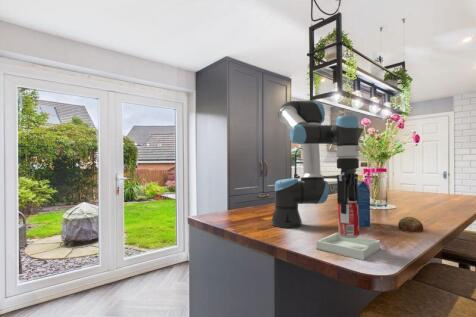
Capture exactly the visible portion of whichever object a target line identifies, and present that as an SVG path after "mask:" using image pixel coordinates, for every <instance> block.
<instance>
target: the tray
mask: <svg viewBox="0 0 476 317" xmlns="http://www.w3.org/2000/svg"><path fill="white" fill-rule="evenodd" d="M315 246H316V248H315V249H316V250H317V251H322V252H326V253H330V254H334V255H338V256H339V255H340V256H343V257H348V258H351V259H352V258H353V259H356V260H361V261H365V260H366V259H368V258H369V257H370V256H372V255H374V254H375V253H376V252H378V251H379V250H381V240H380V239H379V240H378V239H373V238H368V237H363V236H362V237H361V236H358V237H357V238H345V237H342V236H340V234H339V232H334V233H333V234H330V235H327V236H326V237H323V238H320V239H318V240H316V245H315Z"/></svg>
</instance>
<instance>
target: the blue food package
mask: <svg viewBox="0 0 476 317" xmlns="http://www.w3.org/2000/svg"><path fill="white" fill-rule="evenodd" d="M370 200H371V194H370V188H369V186H368V185H367V184H366V183H365V182H364V176H363V175H360V174H358V203H357V204H358V207H359V228H360V227H362V228H363V227H364V228H370V227H371V202H370Z"/></svg>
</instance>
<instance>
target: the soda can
mask: <svg viewBox="0 0 476 317" xmlns="http://www.w3.org/2000/svg"><path fill="white" fill-rule="evenodd" d="M347 205H349V223H342V222H341V208H340V204H338V203H337V218H338V219H337V220H338V223H337V224H338V233H339V234H340V236H342V237H345V238H357V237H360V226H359V207H358V204H357V201H349V200H348V204H347Z"/></svg>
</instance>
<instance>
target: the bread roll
mask: <svg viewBox="0 0 476 317" xmlns="http://www.w3.org/2000/svg"><path fill="white" fill-rule="evenodd" d="M397 226H398V228H397V230H400V231H403V232H407V233H414V232H417V233H422V232H423V231H424V224H423V223H422V222H421V221H420V220H419V219H417V218H416V217H412V216H405V217H402V218H401V219H400V220H399V221H398V223H397Z"/></svg>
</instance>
